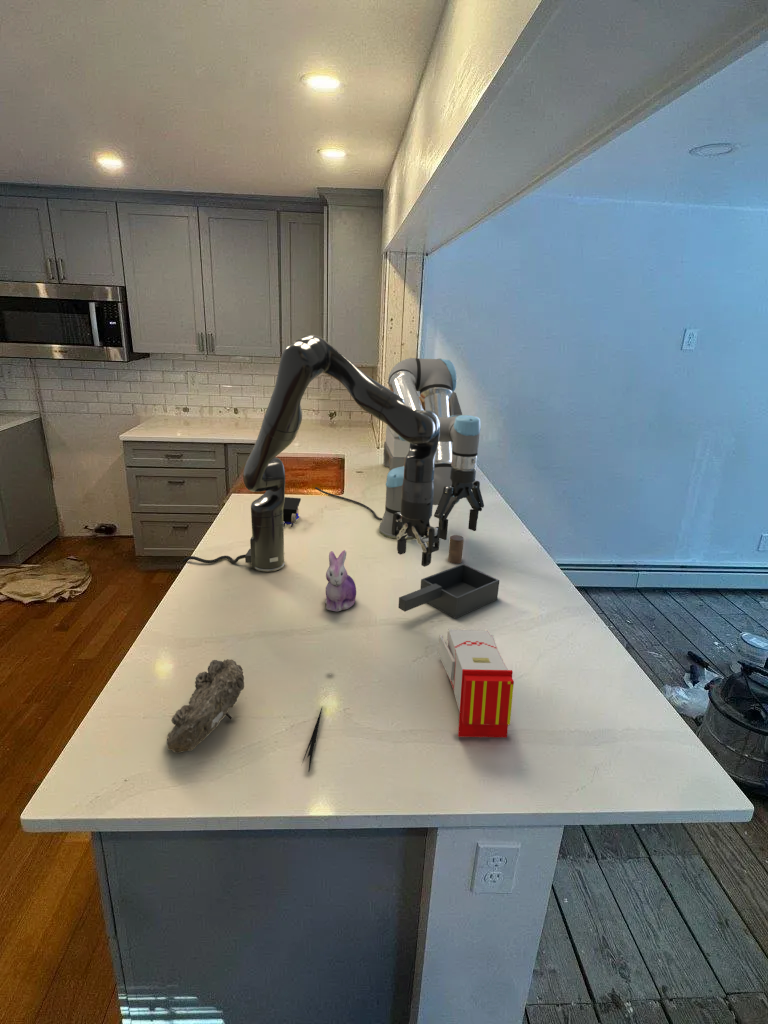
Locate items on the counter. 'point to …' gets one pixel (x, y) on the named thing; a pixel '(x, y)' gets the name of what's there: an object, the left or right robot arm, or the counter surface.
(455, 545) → the walnut peg
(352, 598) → the figurine
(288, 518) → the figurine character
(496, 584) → the bin
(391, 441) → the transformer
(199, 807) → the counter surface
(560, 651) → the counter surface
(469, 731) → the toy
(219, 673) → the fossil
